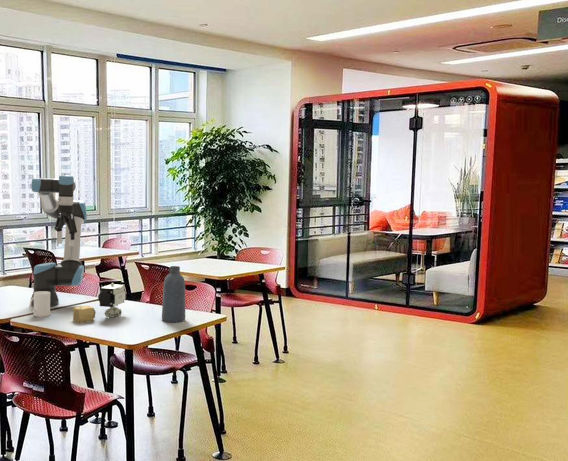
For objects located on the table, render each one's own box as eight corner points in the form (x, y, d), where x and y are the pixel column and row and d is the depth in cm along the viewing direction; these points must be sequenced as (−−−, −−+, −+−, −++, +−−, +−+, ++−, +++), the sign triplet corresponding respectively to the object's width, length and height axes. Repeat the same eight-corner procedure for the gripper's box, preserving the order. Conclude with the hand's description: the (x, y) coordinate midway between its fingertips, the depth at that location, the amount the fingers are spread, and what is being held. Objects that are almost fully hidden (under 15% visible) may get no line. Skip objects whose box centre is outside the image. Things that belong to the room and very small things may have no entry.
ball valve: (112, 320, 317) (113, 286, 315) (97, 319, 318) (97, 285, 317) (128, 313, 334) (128, 281, 333) (113, 312, 336) (114, 280, 335)
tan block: (73, 321, 313) (73, 307, 312) (90, 318, 320) (90, 305, 319) (78, 323, 309) (79, 309, 308) (96, 320, 316) (96, 307, 315)
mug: (34, 318, 315) (34, 295, 314) (24, 316, 319) (24, 293, 318) (54, 315, 324) (54, 292, 324) (43, 312, 329) (44, 290, 328)
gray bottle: (159, 318, 326) (161, 265, 324) (182, 317, 331) (184, 265, 328) (163, 323, 315) (165, 268, 313) (187, 322, 319) (188, 268, 317)
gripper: (48, 203, 331) (47, 242, 333) (70, 205, 314) (70, 247, 316) (61, 203, 337) (61, 242, 338) (84, 206, 320) (83, 246, 321)
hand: (65, 244), depth 327 cm, fingers open, 13 cm apart
